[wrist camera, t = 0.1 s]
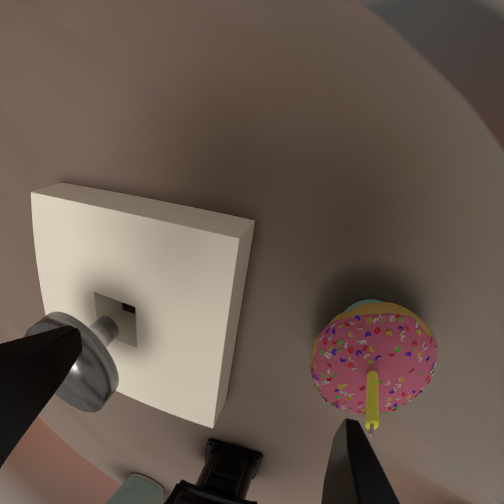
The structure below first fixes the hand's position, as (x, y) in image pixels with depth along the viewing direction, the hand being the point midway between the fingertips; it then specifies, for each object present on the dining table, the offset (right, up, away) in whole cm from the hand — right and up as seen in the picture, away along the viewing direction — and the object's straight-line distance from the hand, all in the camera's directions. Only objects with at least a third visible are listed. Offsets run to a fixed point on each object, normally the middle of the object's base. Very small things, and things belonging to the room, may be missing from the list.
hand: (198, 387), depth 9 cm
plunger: (-9, -2, +14) cm, 17 cm away
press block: (-8, 0, +18) cm, 20 cm away
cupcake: (+11, -1, +14) cm, 18 cm away
